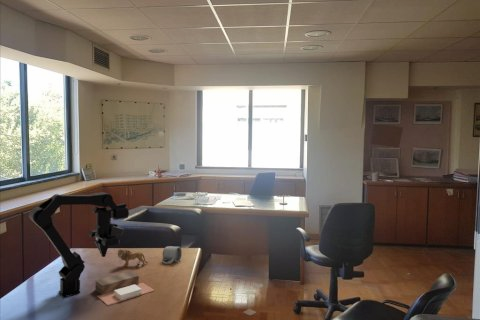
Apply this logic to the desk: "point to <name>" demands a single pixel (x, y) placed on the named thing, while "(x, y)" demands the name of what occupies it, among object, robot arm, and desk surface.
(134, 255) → the lion figurine
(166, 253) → the ceramic mug
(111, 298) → the mat
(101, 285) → the brown long block
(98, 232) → the robot arm
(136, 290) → the white flat block
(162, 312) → the desk surface
